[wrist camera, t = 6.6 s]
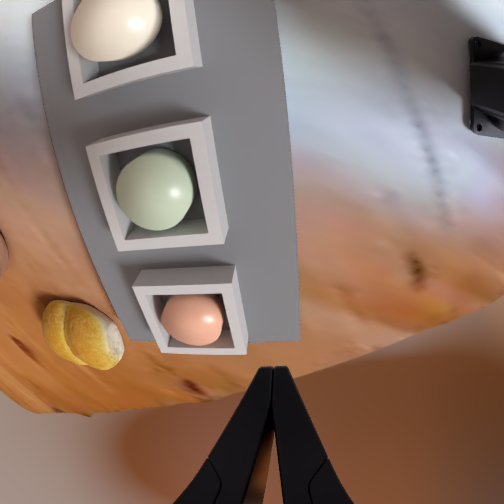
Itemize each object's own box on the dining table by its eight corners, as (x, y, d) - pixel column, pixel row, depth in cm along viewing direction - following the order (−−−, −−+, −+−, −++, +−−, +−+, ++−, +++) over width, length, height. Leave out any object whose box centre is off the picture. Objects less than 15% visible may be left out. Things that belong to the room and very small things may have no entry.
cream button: (158, -23, 9) (144, -32, 8) (167, 48, 11) (154, 46, 10) (86, 4, 10) (67, 0, 8) (94, 70, 12) (76, 73, 10)
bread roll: (39, 292, 26) (19, 318, 22) (110, 300, 25) (91, 333, 22) (68, 347, 30) (54, 373, 27) (134, 359, 30) (122, 390, 26)
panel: (264, -51, 10) (261, -78, 7) (299, 321, 24) (301, 359, 21) (50, 15, 12) (13, 14, 9) (137, 323, 26) (123, 356, 23)
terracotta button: (218, 284, 20) (214, 302, 18) (229, 327, 22) (226, 345, 20) (161, 286, 20) (153, 302, 19) (176, 327, 22) (171, 344, 21)
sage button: (189, 142, 15) (180, 151, 13) (203, 212, 17) (196, 227, 16) (121, 155, 15) (107, 164, 14) (139, 219, 18) (128, 233, 16)
